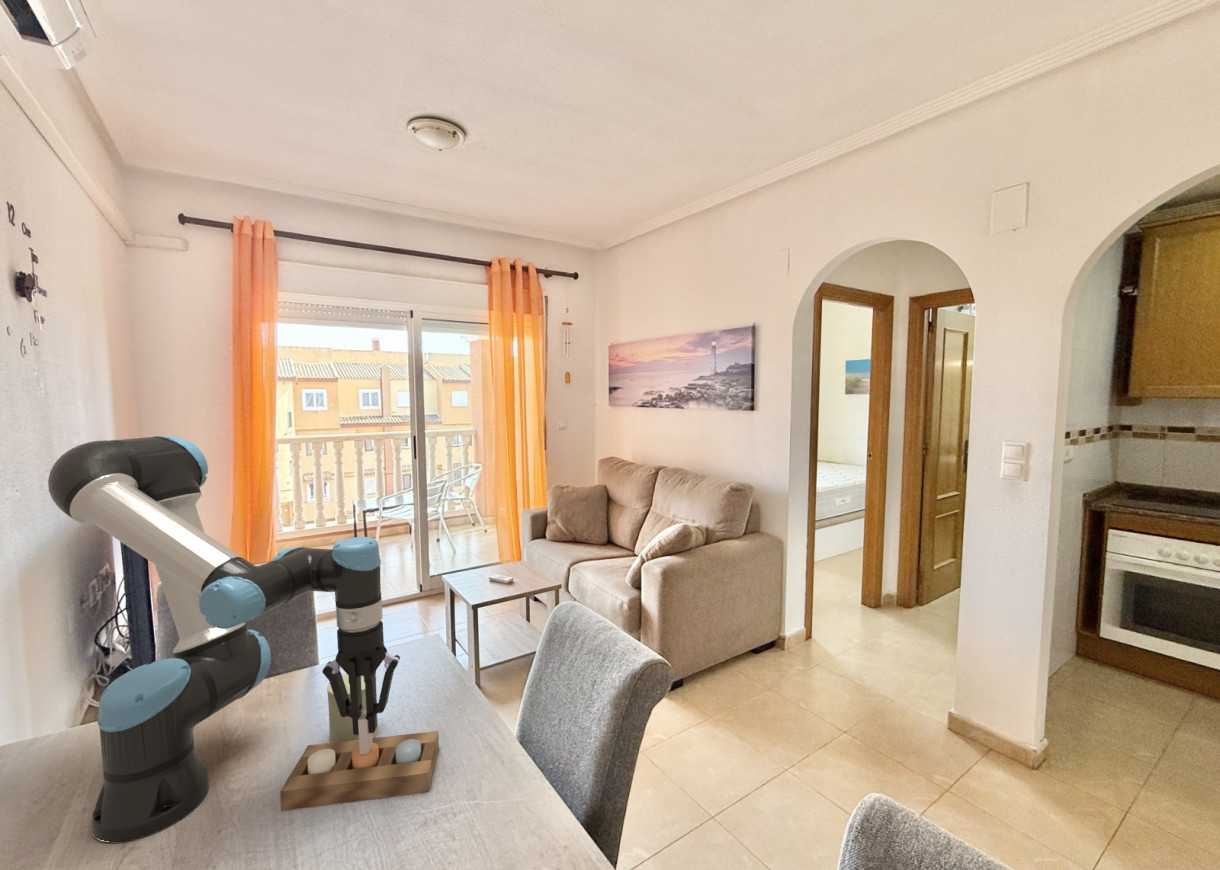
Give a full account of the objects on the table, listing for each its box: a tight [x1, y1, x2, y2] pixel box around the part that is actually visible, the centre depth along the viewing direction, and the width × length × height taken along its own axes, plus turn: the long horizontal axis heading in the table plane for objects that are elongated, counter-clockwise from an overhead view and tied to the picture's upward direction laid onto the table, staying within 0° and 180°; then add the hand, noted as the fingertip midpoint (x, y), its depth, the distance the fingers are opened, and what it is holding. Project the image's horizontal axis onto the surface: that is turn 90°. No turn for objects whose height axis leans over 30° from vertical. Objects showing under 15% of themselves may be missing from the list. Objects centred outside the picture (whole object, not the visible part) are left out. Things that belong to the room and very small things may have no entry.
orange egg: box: [352, 743, 379, 769], centre depth 97 cm, size 4×4×5 cm
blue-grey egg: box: [396, 739, 421, 764], centre depth 98 cm, size 4×4×5 cm
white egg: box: [308, 749, 336, 775], centre depth 95 cm, size 4×4×5 cm
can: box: [326, 673, 379, 743], centre depth 108 cm, size 9×9×12 cm
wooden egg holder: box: [279, 730, 440, 812], centre depth 97 cm, size 24×12×4 cm, turn 100°
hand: (366, 749), depth 96 cm, fingers closed
